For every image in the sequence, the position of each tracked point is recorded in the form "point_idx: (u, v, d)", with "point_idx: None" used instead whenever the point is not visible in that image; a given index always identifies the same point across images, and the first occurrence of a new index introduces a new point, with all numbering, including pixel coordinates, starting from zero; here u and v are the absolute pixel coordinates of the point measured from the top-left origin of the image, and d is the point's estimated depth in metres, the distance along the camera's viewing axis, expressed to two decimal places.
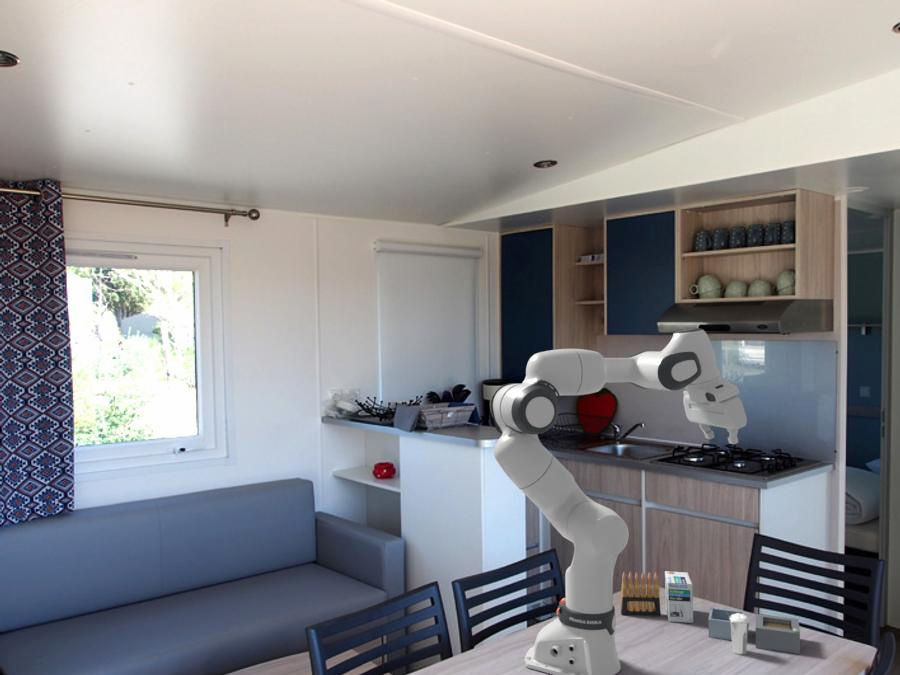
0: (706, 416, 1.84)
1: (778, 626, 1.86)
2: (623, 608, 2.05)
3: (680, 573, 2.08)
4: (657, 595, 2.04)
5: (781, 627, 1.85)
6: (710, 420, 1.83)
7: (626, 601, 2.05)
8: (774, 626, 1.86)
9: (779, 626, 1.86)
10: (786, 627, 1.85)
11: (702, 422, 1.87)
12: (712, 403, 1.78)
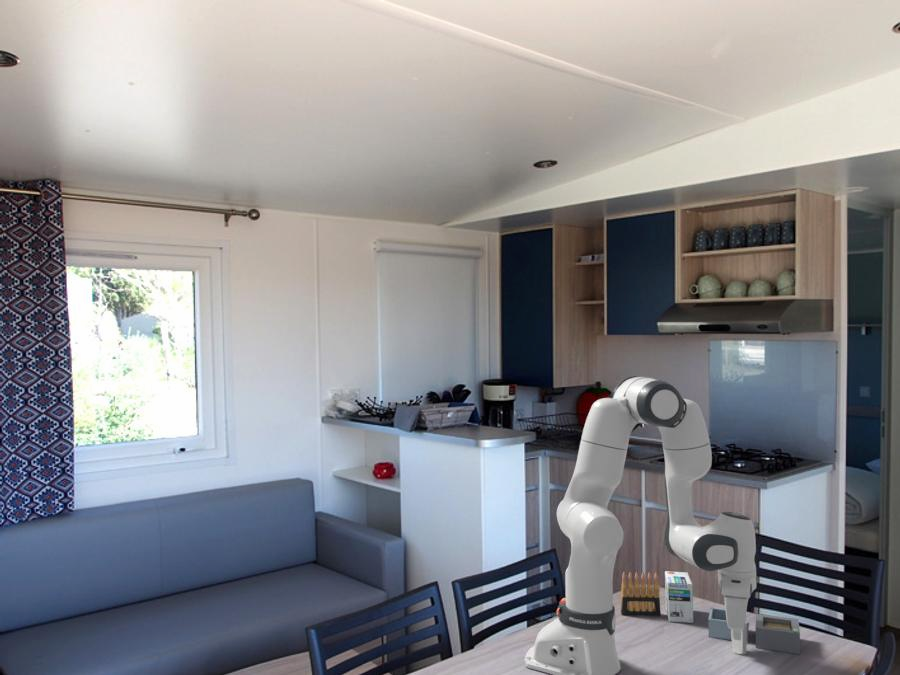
0: None
1: (778, 626, 1.86)
2: (623, 608, 2.05)
3: (680, 573, 2.08)
4: (657, 595, 2.04)
5: (781, 627, 1.85)
6: None
7: (626, 601, 2.05)
8: (774, 626, 1.86)
9: (779, 626, 1.86)
10: (786, 627, 1.85)
11: None
12: None
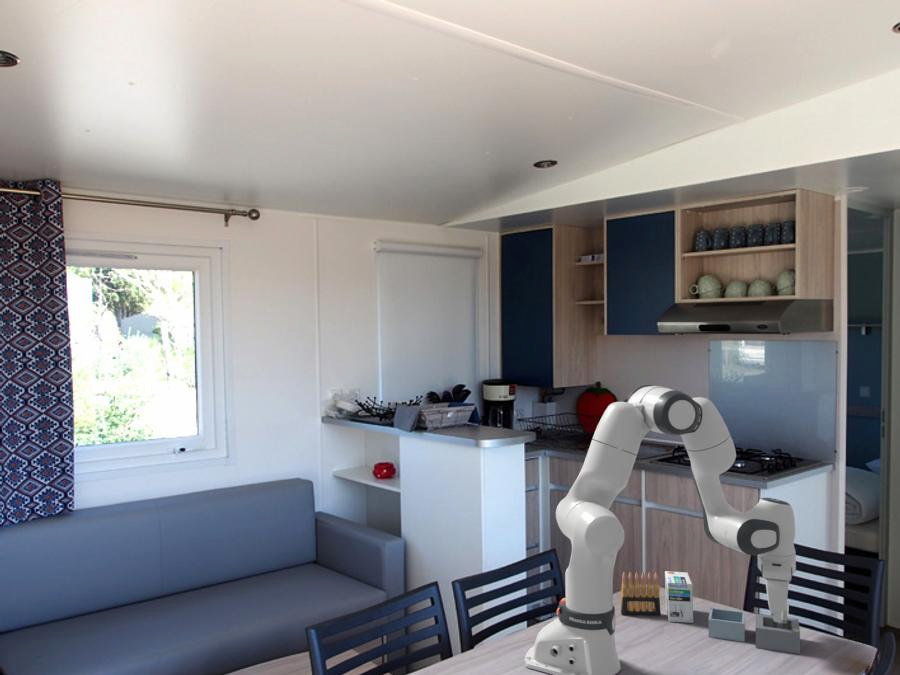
0: None
1: None
2: (623, 608, 2.05)
3: (680, 573, 2.08)
4: (657, 595, 2.04)
5: None
6: None
7: (626, 601, 2.05)
8: None
9: None
10: None
11: None
12: None
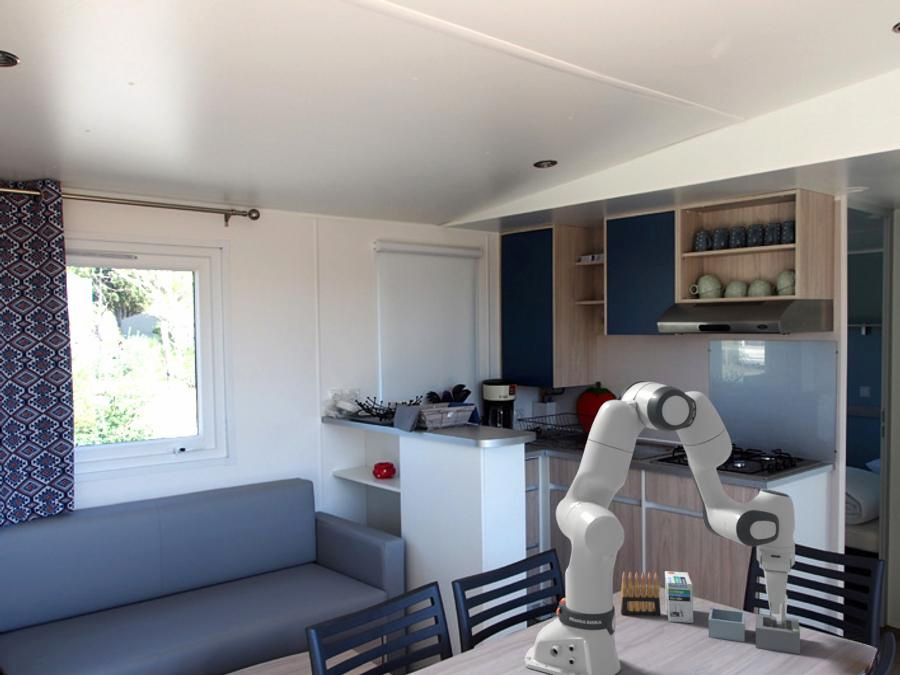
0: None
1: None
2: (623, 608, 2.05)
3: (680, 573, 2.08)
4: (657, 595, 2.04)
5: None
6: None
7: (626, 601, 2.05)
8: None
9: None
10: None
11: None
12: None
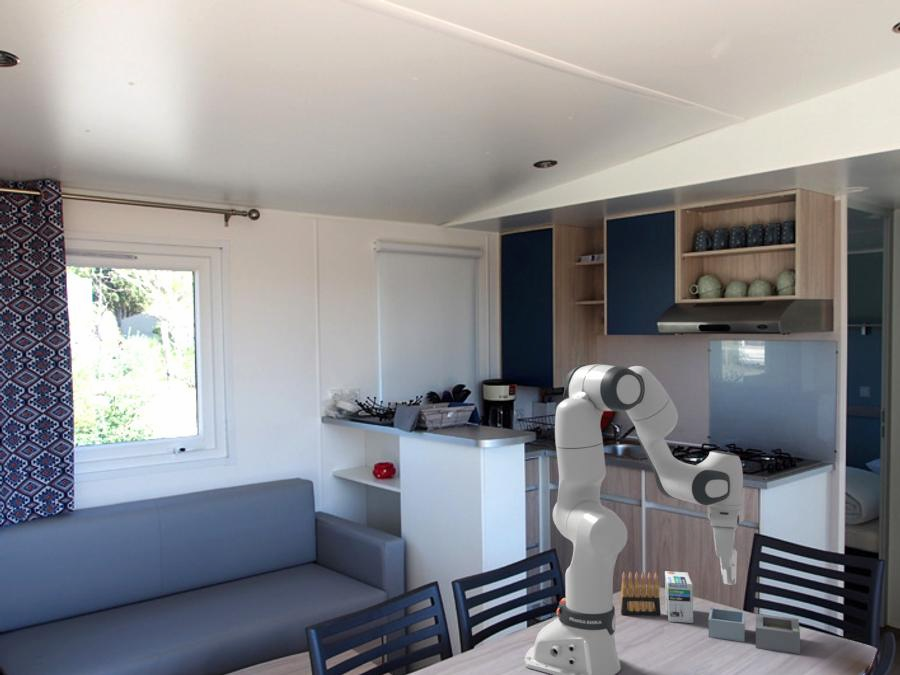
0: None
1: None
2: (623, 608, 2.05)
3: (680, 573, 2.08)
4: (657, 595, 2.04)
5: None
6: None
7: (626, 601, 2.05)
8: None
9: None
10: None
11: None
12: None
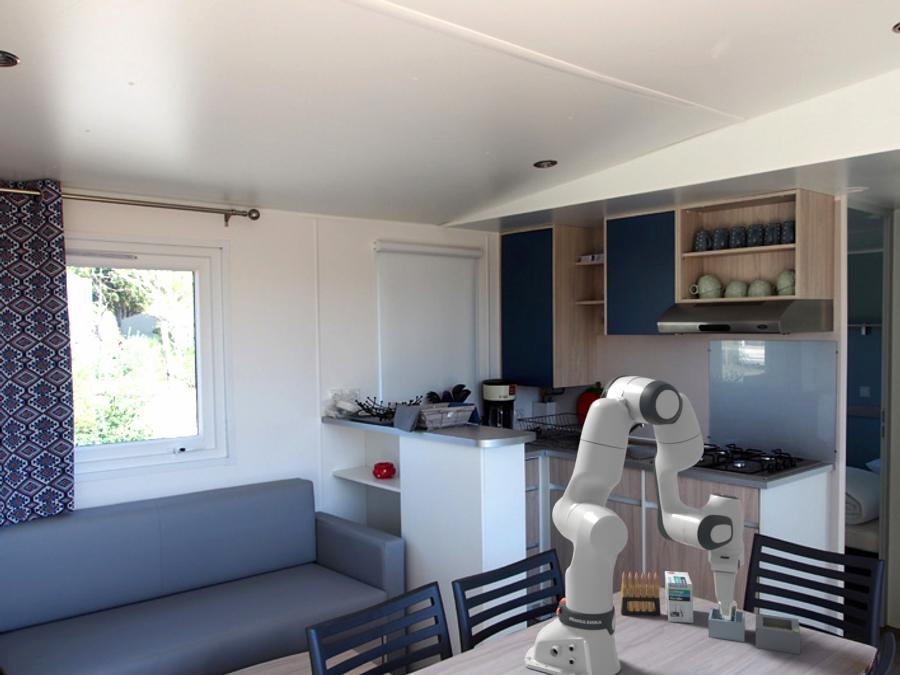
0: None
1: None
2: (623, 608, 2.05)
3: (680, 573, 2.08)
4: (657, 595, 2.04)
5: None
6: None
7: (626, 601, 2.05)
8: None
9: None
10: None
11: None
12: None
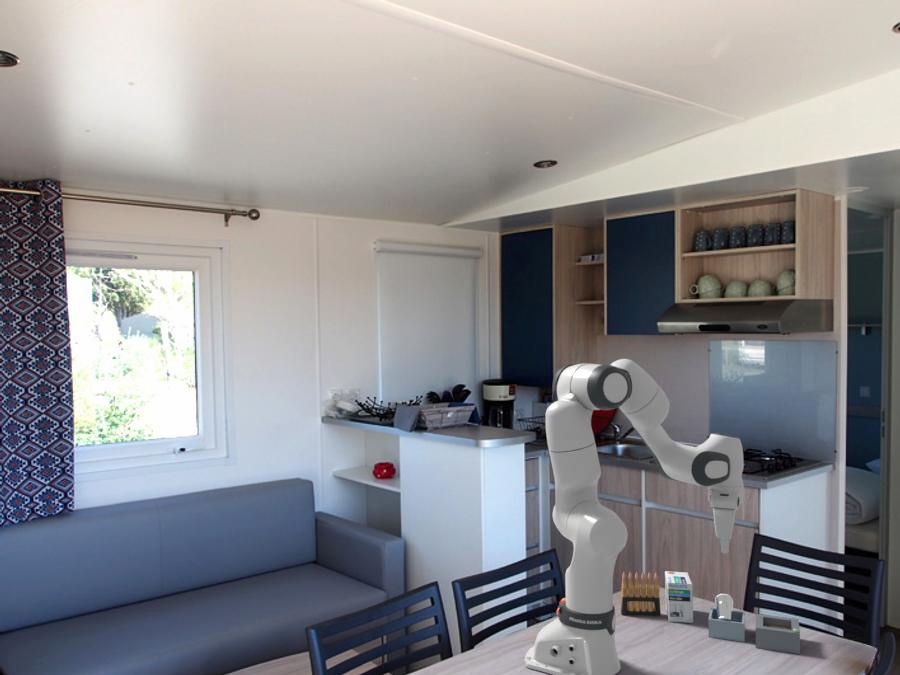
0: None
1: None
2: (623, 608, 2.05)
3: (680, 573, 2.08)
4: (657, 595, 2.04)
5: None
6: None
7: (626, 601, 2.05)
8: None
9: None
10: None
11: None
12: None
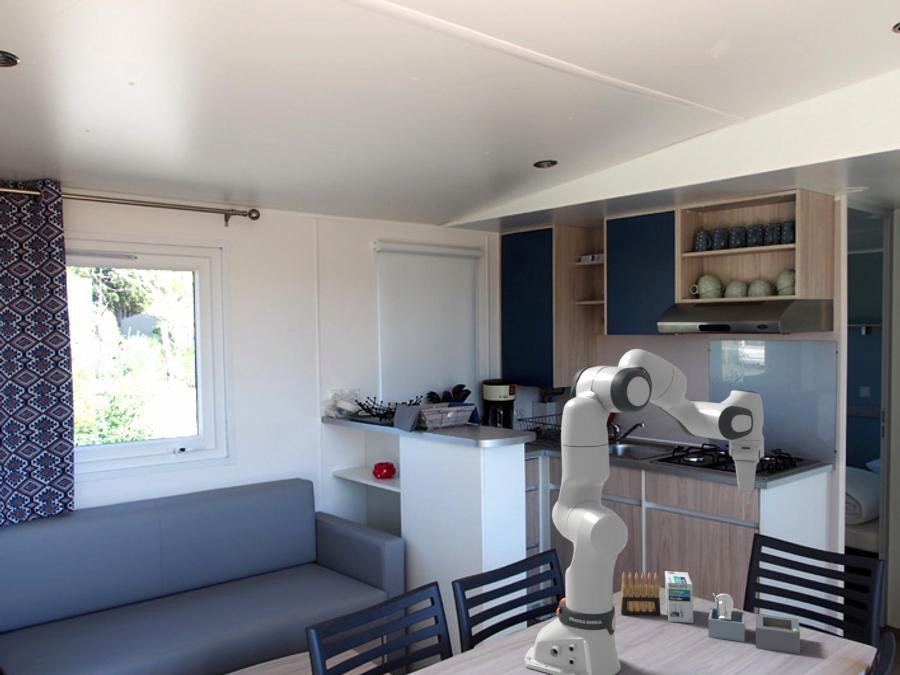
0: None
1: None
2: (623, 608, 2.05)
3: (680, 573, 2.08)
4: (657, 595, 2.04)
5: None
6: None
7: (626, 601, 2.05)
8: None
9: None
10: None
11: None
12: None
